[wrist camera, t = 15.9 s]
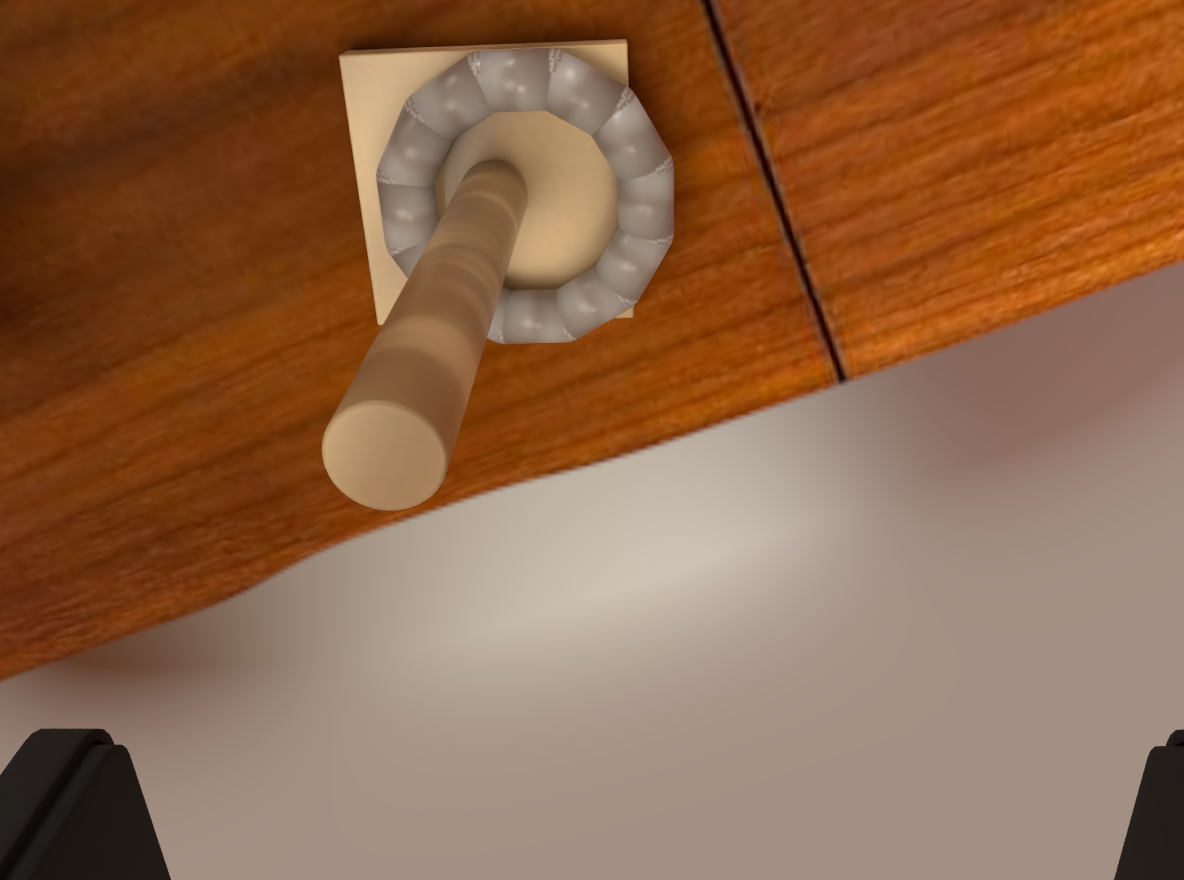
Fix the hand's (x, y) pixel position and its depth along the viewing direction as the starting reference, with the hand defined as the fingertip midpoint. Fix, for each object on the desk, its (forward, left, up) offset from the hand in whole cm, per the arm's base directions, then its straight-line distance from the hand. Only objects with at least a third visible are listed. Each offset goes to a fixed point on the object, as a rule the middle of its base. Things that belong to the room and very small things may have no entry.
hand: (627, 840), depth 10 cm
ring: (+3, 0, -23) cm, 23 cm away
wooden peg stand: (+4, 0, -24) cm, 25 cm away
